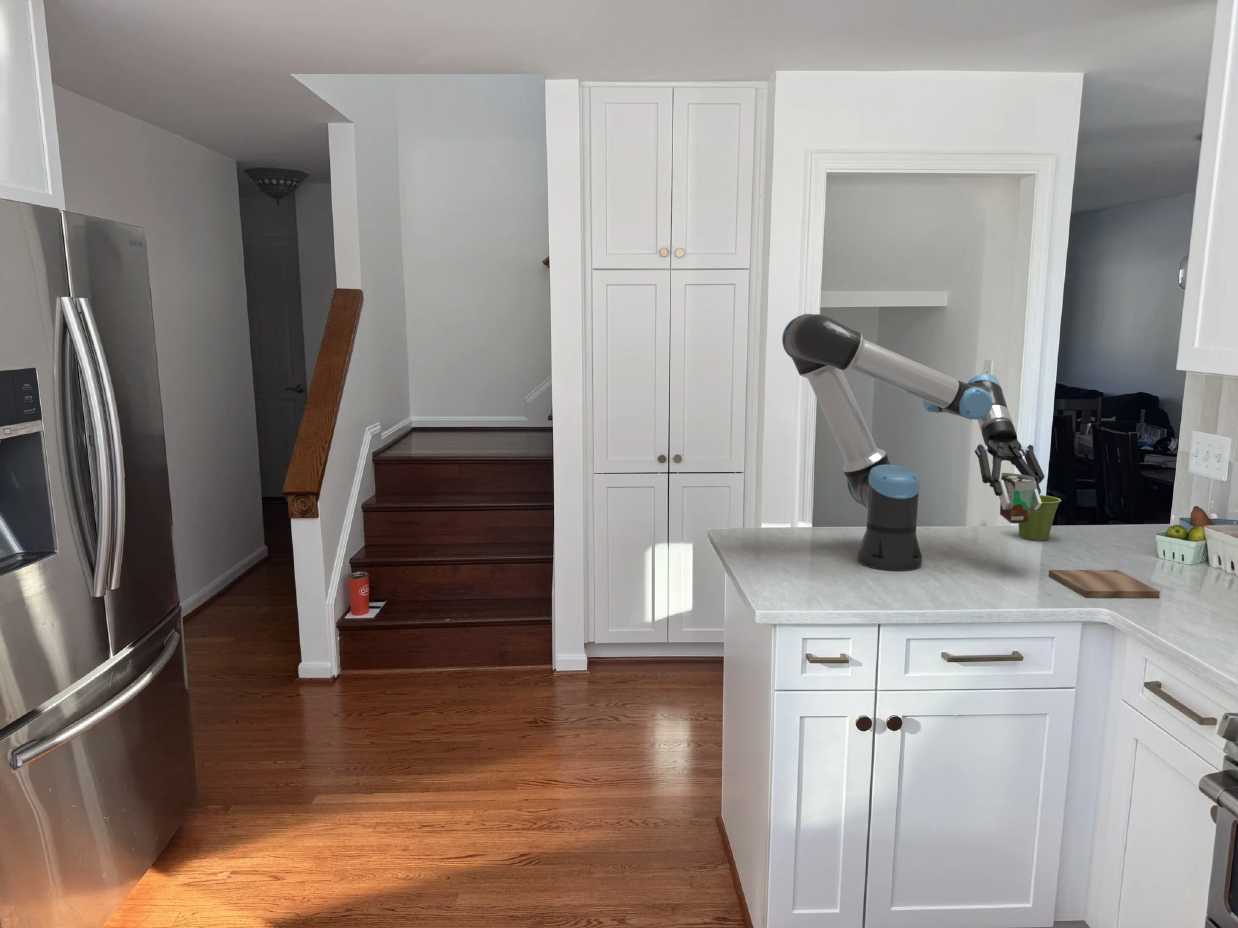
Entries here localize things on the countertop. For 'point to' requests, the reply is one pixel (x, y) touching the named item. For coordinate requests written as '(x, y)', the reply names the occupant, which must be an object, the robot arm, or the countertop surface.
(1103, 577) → the walnut board
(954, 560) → the countertop surface
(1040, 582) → the countertop surface
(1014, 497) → the food container
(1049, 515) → the plant pot
